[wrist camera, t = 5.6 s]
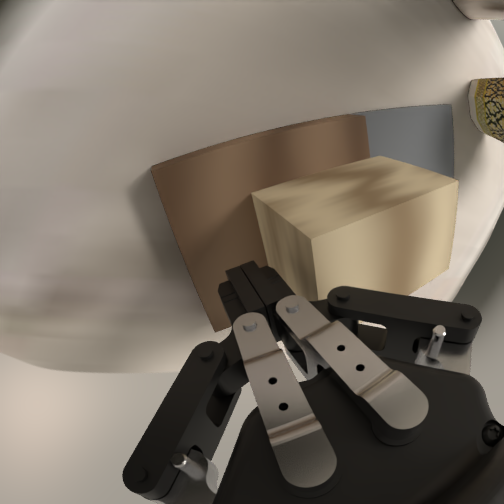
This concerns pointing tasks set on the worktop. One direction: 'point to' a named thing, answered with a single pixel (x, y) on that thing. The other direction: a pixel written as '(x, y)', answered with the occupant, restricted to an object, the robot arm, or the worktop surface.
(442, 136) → the mat
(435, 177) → the block
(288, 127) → the brown flat slab
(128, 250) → the worktop surface
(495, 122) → the ceramic cup
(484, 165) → the worktop surface
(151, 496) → the robot arm
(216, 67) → the worktop surface
